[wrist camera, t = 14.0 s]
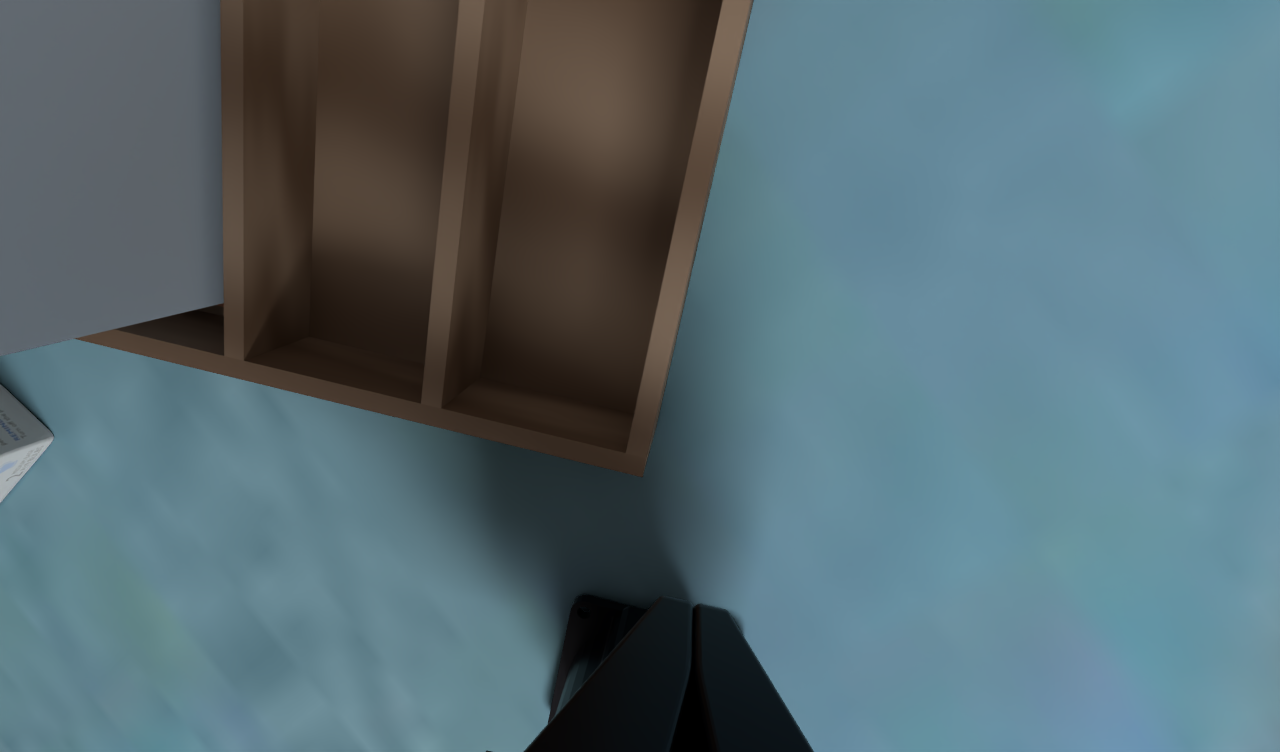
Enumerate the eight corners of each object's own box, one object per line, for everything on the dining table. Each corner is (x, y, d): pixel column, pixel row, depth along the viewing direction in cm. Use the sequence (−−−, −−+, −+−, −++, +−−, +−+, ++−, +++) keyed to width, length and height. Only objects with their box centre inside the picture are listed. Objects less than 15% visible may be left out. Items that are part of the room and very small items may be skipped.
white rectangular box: (269, 291, 20) (0, 355, 13) (156, 265, 21) (-174, 313, 13) (273, -146, 17) (-106, -424, 9) (135, -172, 17) (-347, -462, 9)
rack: (655, 429, 21) (639, 487, 17) (144, 307, 22) (15, 334, 18) (782, -127, 16) (802, -231, 12) (114, -248, 17) (-72, -380, 13)
